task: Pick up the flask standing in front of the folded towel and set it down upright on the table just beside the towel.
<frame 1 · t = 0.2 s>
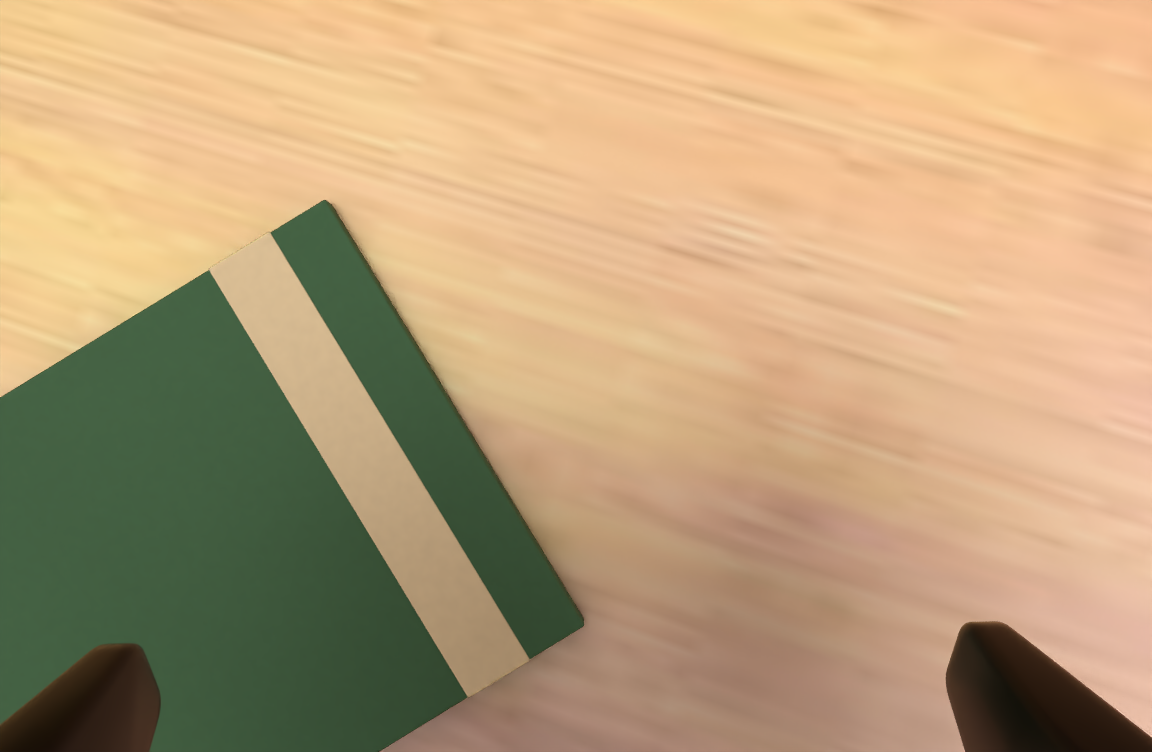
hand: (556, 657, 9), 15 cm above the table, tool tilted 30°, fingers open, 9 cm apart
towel: (159, 593, 24), on the table
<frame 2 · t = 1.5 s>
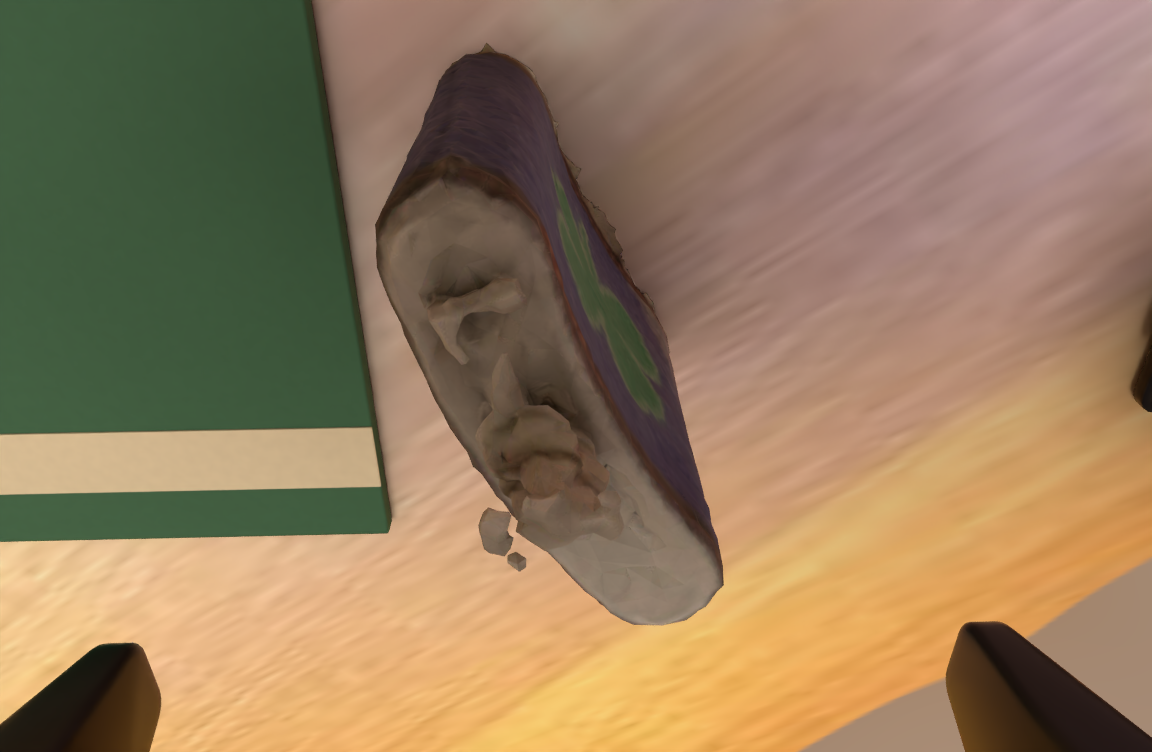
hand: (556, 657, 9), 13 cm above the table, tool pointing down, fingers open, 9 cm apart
flask: (554, 228, 21), on the table
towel: (41, 199, 20), on the table
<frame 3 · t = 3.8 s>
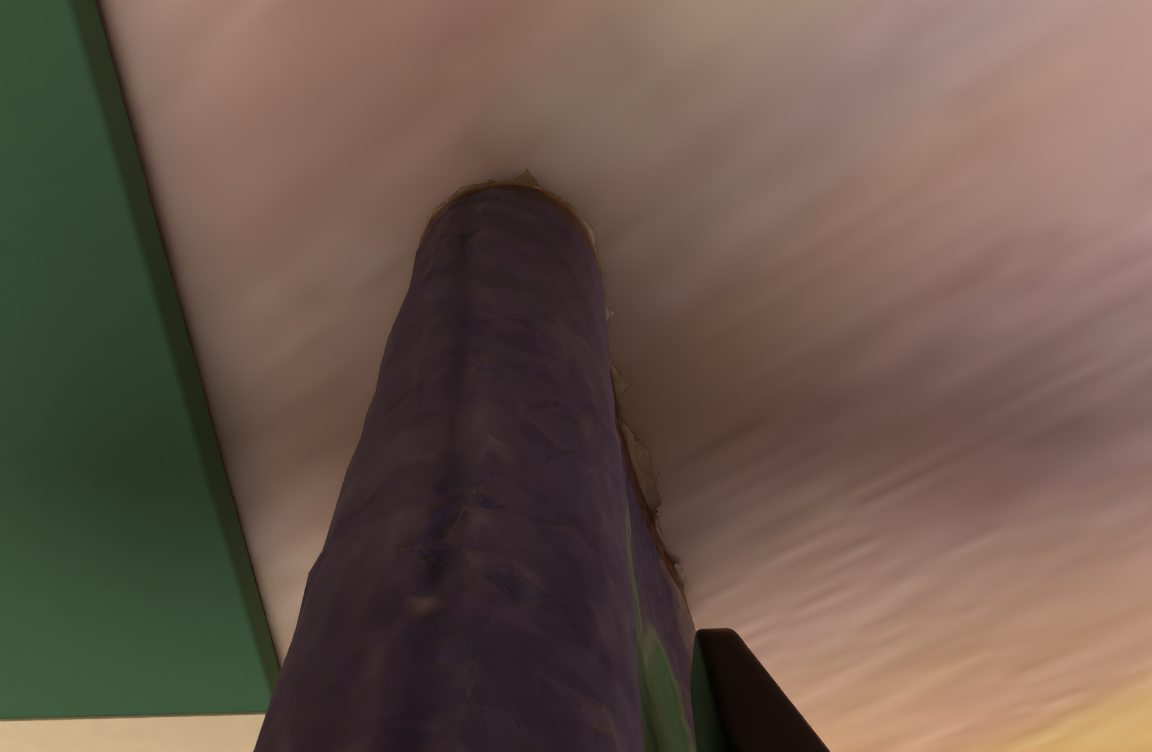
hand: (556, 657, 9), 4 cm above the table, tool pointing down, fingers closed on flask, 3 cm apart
flask: (564, 452, 13), on the table, touching gripper
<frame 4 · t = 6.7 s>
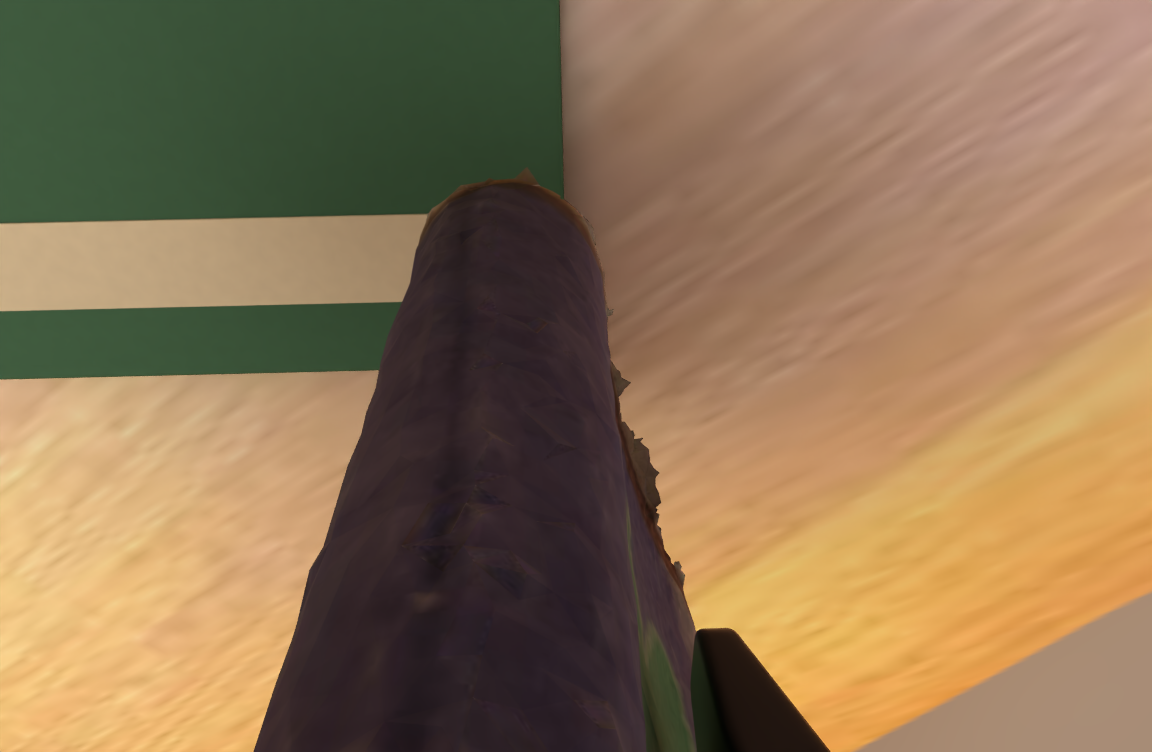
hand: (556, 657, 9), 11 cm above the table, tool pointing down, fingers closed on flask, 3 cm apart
flask: (564, 450, 13), point 7 cm above the table, touching gripper
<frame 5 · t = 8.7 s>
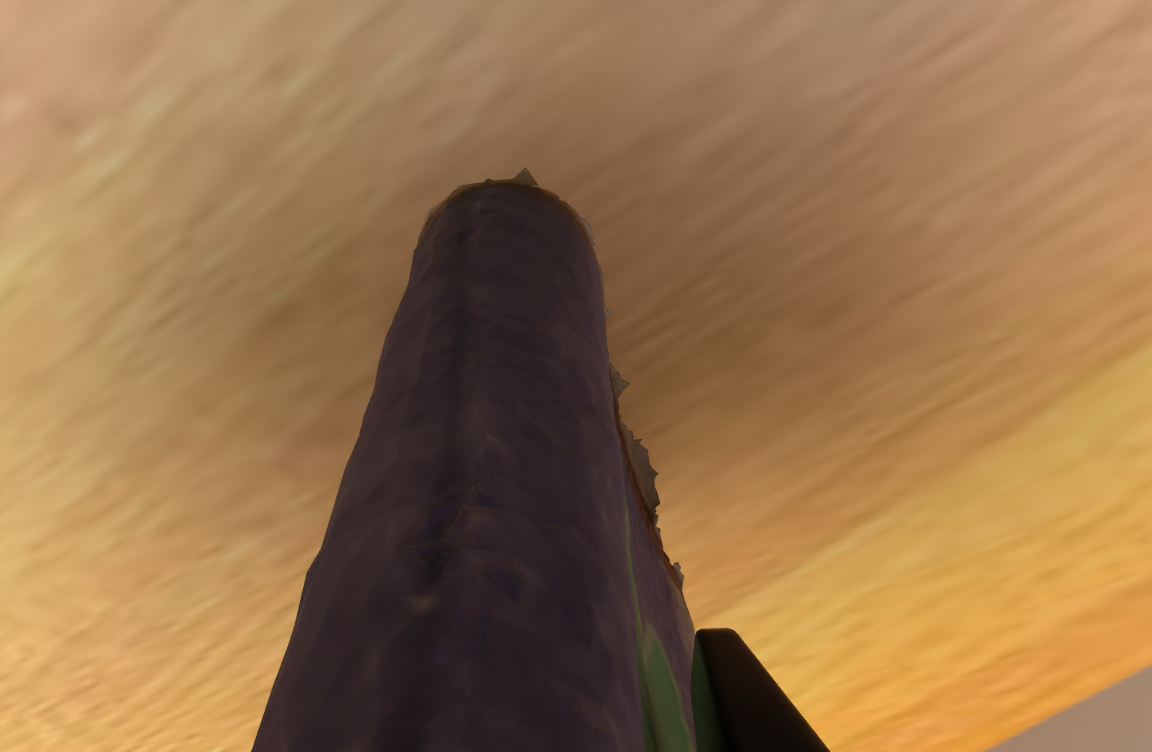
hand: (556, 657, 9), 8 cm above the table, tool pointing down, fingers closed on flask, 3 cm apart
flask: (563, 451, 13), point 4 cm above the table, touching gripper
when the fingers open (4 cm above the table, at t = 10.1 s): flask stays where it is, on the table.
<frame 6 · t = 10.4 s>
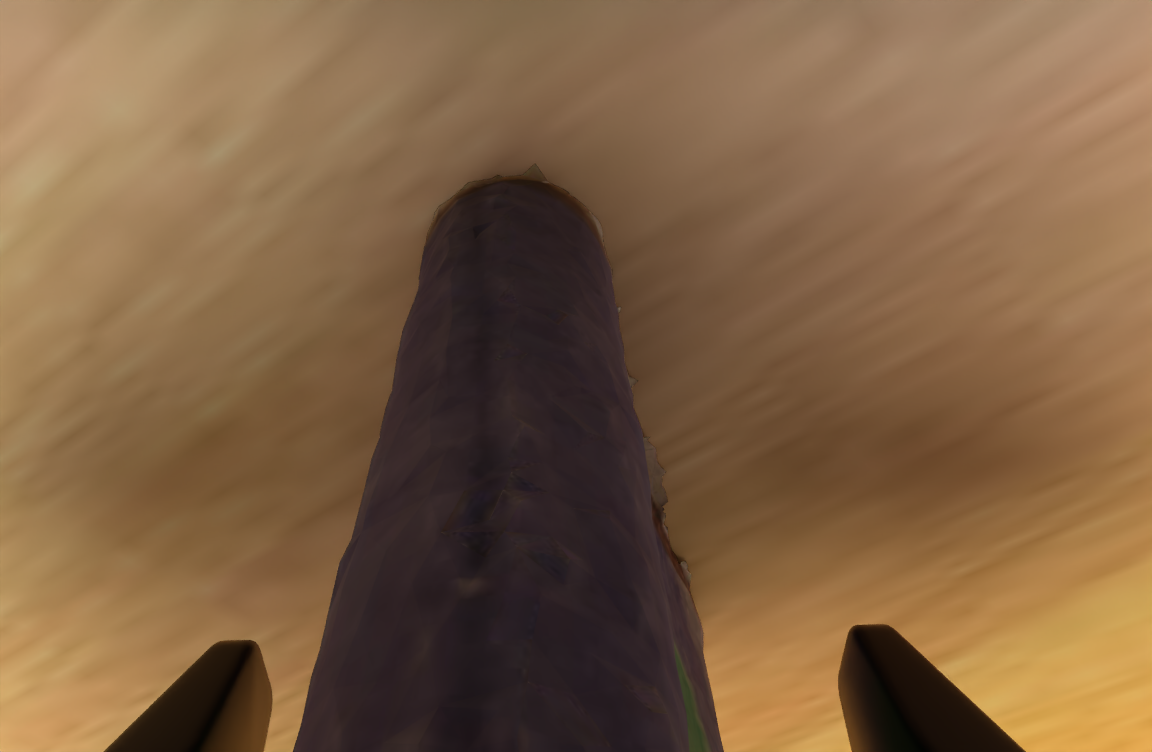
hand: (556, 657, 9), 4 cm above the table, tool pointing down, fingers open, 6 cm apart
flask: (570, 450, 13), on the table
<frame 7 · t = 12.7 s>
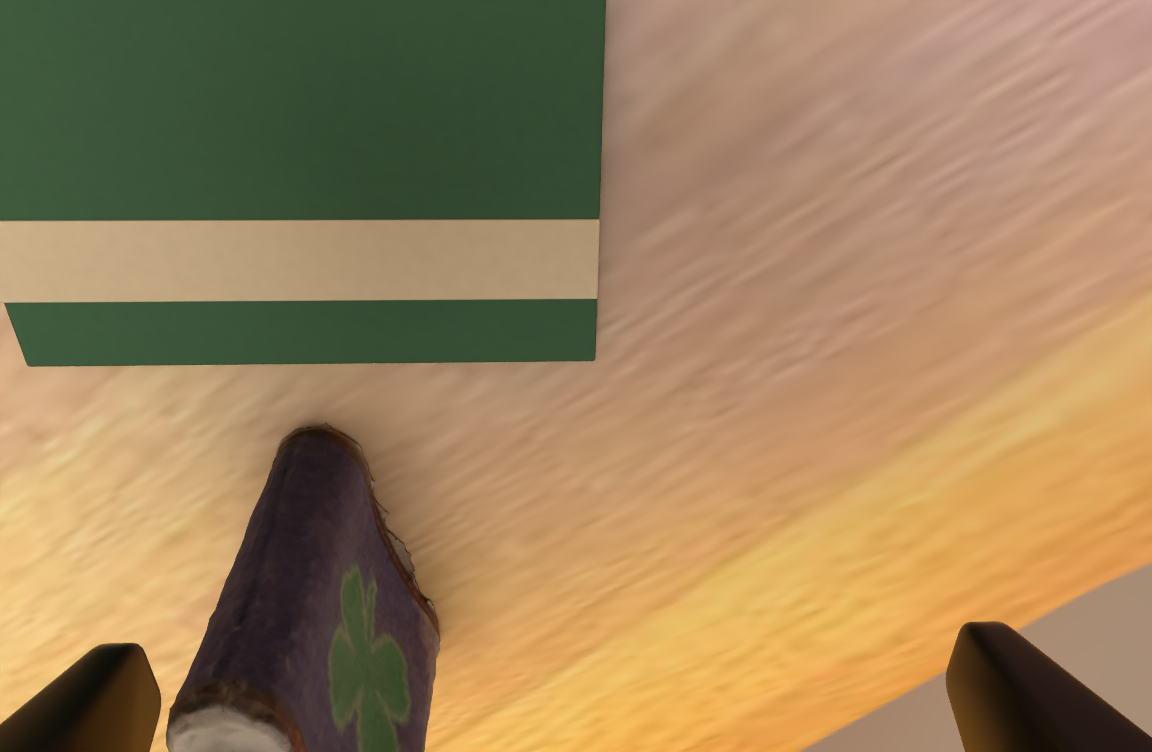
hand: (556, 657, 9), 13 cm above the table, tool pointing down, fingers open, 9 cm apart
flask: (362, 544, 25), on the table
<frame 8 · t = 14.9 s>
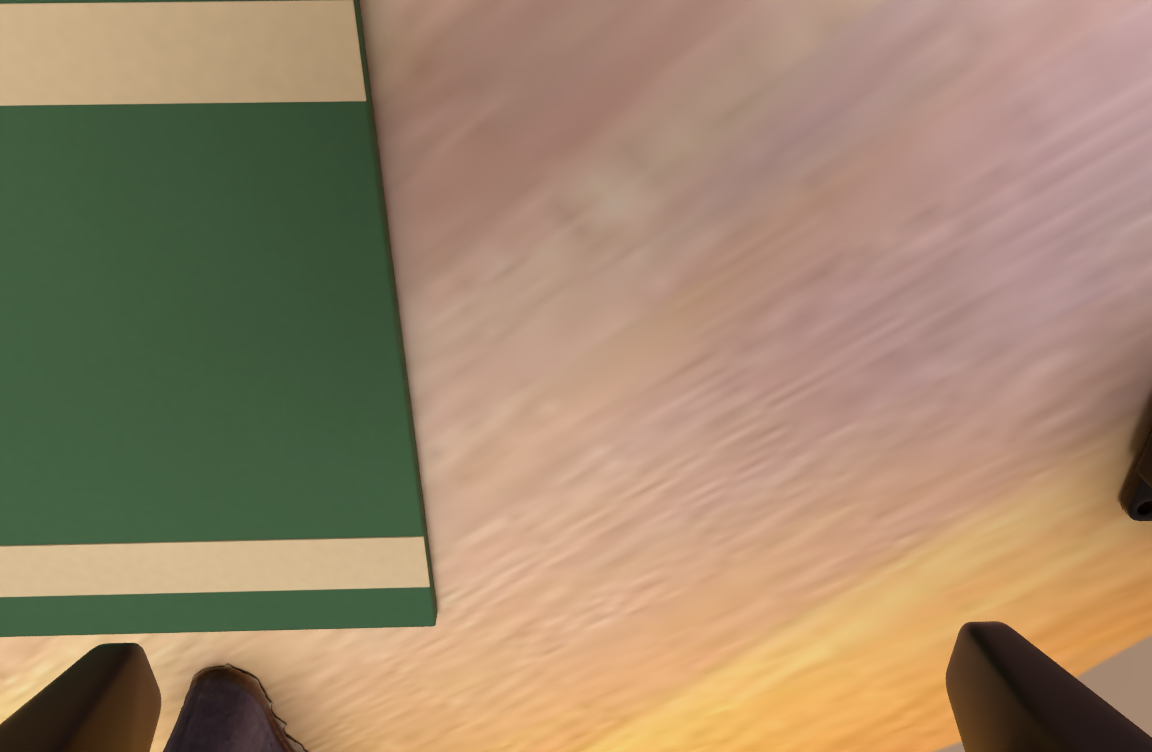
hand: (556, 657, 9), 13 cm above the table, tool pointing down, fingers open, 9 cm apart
flask: (268, 743, 31), on the table
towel: (131, 344, 22), on the table
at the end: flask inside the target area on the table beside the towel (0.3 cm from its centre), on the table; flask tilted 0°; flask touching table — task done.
